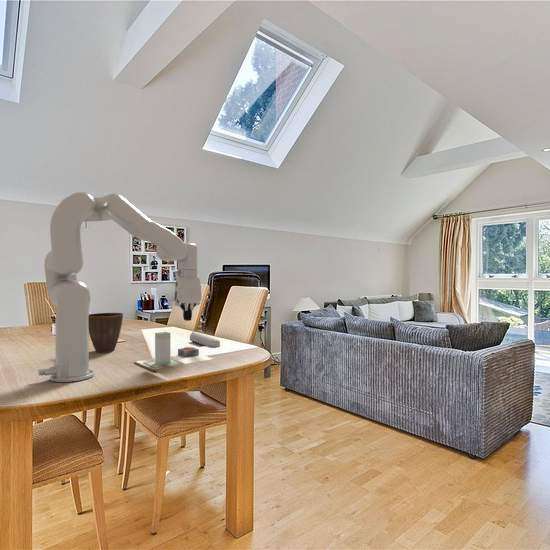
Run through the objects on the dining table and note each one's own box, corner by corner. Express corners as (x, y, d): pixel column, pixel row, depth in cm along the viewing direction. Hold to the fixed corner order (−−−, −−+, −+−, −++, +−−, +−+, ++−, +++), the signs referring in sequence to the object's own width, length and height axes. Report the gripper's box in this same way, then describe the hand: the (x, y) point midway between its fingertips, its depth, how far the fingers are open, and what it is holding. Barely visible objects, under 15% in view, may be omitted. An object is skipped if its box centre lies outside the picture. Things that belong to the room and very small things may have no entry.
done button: (186, 354, 152) (186, 348, 152) (182, 353, 155) (182, 347, 155) (193, 353, 154) (193, 347, 154) (189, 352, 157) (189, 346, 157)
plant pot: (120, 353, 163) (120, 315, 163) (82, 355, 160) (81, 316, 160) (125, 347, 178) (125, 312, 178) (90, 348, 174) (90, 313, 174)
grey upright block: (160, 365, 137) (159, 334, 137) (155, 363, 140) (155, 332, 140) (170, 363, 140) (170, 332, 140) (165, 361, 143) (165, 331, 143)
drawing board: (153, 372, 131) (153, 362, 131) (134, 364, 144) (133, 354, 144) (216, 361, 147) (216, 352, 147) (194, 354, 160) (193, 346, 160)
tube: (224, 340, 173) (201, 332, 194) (213, 337, 171) (191, 330, 191) (220, 352, 173) (197, 343, 193) (210, 349, 170) (188, 341, 190)
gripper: (174, 274, 147) (174, 322, 147) (208, 274, 157) (208, 319, 157) (165, 274, 152) (165, 320, 152) (199, 274, 162) (199, 318, 162)
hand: (187, 320), depth 154 cm, fingers closed
